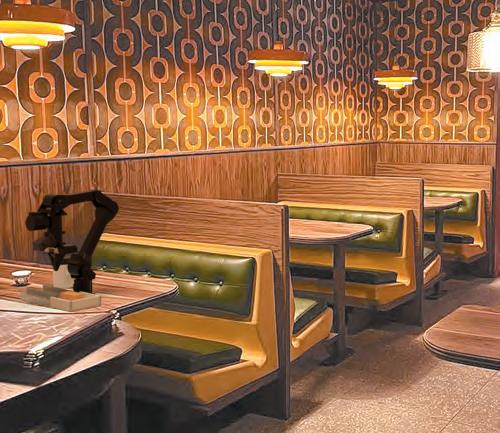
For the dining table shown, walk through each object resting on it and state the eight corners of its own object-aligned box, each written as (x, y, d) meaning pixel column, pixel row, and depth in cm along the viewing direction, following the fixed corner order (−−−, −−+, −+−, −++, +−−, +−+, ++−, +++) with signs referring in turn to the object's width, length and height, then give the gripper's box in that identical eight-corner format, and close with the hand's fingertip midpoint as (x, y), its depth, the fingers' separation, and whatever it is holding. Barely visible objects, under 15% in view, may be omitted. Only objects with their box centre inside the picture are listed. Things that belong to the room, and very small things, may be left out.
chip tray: (81, 300, 257) (80, 291, 257) (101, 305, 249) (101, 295, 249) (50, 306, 247) (50, 297, 247) (70, 311, 239) (70, 301, 239)
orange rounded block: (70, 301, 253) (69, 290, 253) (76, 303, 250) (76, 292, 250) (60, 303, 250) (60, 292, 250) (67, 305, 247) (67, 294, 247)
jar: (60, 289, 278) (59, 259, 277) (48, 286, 283) (47, 257, 282) (79, 286, 285) (78, 256, 284) (67, 283, 290) (66, 254, 289)
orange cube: (76, 292, 250) (83, 293, 248) (77, 303, 251) (84, 304, 248) (67, 294, 247) (74, 295, 245) (67, 305, 247) (74, 306, 245)
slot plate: (50, 294, 269) (50, 283, 269) (80, 300, 257) (80, 290, 257) (20, 299, 260) (20, 288, 259) (50, 306, 247) (49, 295, 247)
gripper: (20, 229, 255) (21, 271, 256) (52, 232, 244) (53, 277, 245) (45, 226, 264) (47, 267, 265) (78, 229, 252) (79, 272, 254)
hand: (56, 270), depth 257 cm, fingers closed
